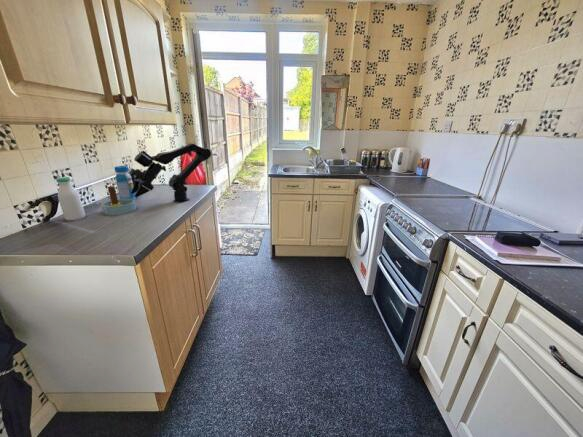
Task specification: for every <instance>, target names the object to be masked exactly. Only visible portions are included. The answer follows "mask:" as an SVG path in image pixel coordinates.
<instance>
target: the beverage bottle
mask: <svg viewBox="0 0 583 437" xmlns="http://www.w3.org/2000/svg"><path fill="white" fill-rule="evenodd" d="M114 173H115V177H114V178H115V180H116V182H115V184H116V186H117V191H118V196H119V199H133V200H136V198H137V197H134V196H135V194H136V192H135V193H134V194H132V193H131V191H132V189H133V187H134V180H133V176H132V175H130V169H129V166H127V165H118V166H117V165H116V166H114Z"/></svg>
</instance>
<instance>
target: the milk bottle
mask: <svg viewBox="0 0 583 437" xmlns="http://www.w3.org/2000/svg"><path fill="white" fill-rule="evenodd" d="M56 182H57V184H58V190H57V199H58V202H59V205H60V209H61V211H62V214H63V218H64V220H65V221H76V220H80V219H84V218H85V217H86V212H85V209H84V206H83V203H82V200H81V196H80V194H79V192H78V190H76V188H74V186H73V185H72V182H71V178H70V177H67V176H64V177H63V176H62V177H57V178H56Z"/></svg>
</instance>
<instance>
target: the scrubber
mask: <svg viewBox="0 0 583 437" xmlns="http://www.w3.org/2000/svg"><path fill="white" fill-rule="evenodd" d="M107 190H108V194H109V198H110V200H111V202H112V204H110V206H121V204H120V203H118V199H119V198H118V196H117V192H116V187H115V186H114V185H111V186H107Z"/></svg>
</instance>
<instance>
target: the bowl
mask: <svg viewBox="0 0 583 437" xmlns="http://www.w3.org/2000/svg"><path fill="white" fill-rule="evenodd" d="M117 199H118V203H120V204H121V206H110V204H112V202H111V199H110V200H107V201H104V202H102V203H101V204H100V207H101V210H102V214H103V215H106V216H119V215H124V214H130V213H132V212H134V211H136V210H137V205H136V204H137V203H136V199H120V198H117Z"/></svg>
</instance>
